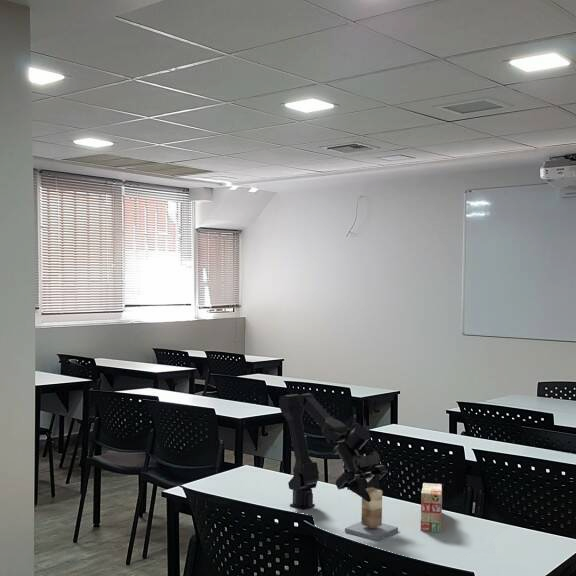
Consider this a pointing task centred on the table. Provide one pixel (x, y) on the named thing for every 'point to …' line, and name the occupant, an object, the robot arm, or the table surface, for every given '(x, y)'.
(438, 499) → the stack of blocks
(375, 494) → the tower
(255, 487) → the table surface
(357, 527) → the plate
